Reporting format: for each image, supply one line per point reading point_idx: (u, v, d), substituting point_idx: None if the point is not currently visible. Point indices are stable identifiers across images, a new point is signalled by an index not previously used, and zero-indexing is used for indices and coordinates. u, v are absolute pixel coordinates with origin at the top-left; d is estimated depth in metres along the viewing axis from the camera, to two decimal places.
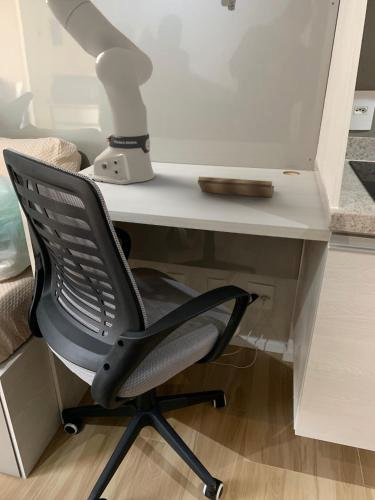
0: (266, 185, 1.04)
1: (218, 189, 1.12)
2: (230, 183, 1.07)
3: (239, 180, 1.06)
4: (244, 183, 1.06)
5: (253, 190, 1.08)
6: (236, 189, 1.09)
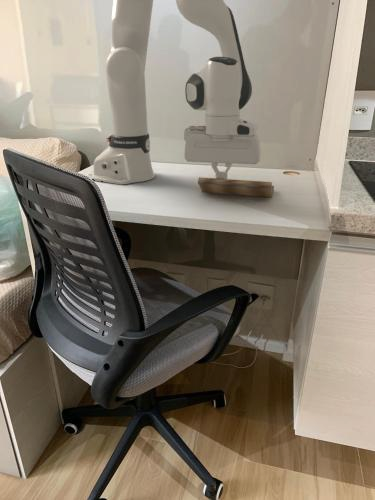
0: (266, 186, 1.04)
1: (217, 189, 1.12)
2: (230, 184, 1.07)
3: (239, 181, 1.06)
4: (244, 184, 1.06)
5: (253, 190, 1.08)
6: (236, 189, 1.09)
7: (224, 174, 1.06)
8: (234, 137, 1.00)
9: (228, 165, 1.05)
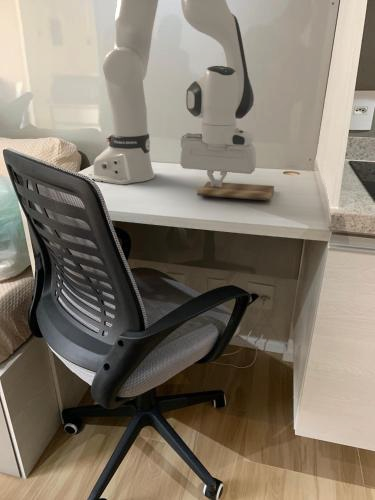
0: (265, 199, 1.05)
1: None
2: (229, 196, 1.07)
3: (238, 193, 1.06)
4: (243, 196, 1.06)
5: None
6: None
7: (219, 182, 1.07)
8: (229, 146, 1.00)
9: (223, 174, 1.05)
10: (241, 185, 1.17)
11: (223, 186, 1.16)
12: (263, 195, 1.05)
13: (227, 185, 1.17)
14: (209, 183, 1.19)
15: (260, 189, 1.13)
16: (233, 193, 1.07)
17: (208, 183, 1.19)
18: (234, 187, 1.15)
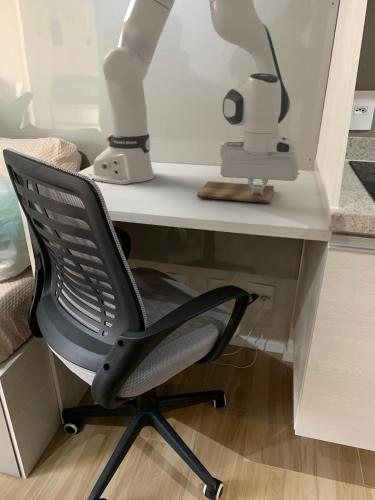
0: (264, 201, 1.05)
1: None
2: (229, 198, 1.08)
3: (237, 195, 1.07)
4: (243, 199, 1.07)
5: None
6: None
7: (260, 190, 1.06)
8: (273, 154, 0.99)
9: (265, 181, 1.04)
10: (241, 185, 1.17)
11: (223, 186, 1.16)
12: (263, 197, 1.05)
13: (227, 185, 1.17)
14: (209, 183, 1.19)
15: None
16: (233, 195, 1.07)
17: (208, 183, 1.19)
18: (234, 187, 1.15)
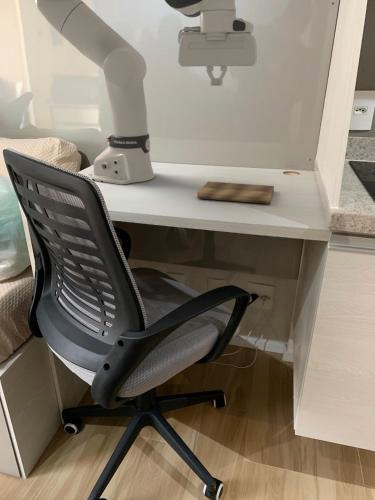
0: (264, 202, 1.05)
1: None
2: (229, 199, 1.08)
3: (237, 196, 1.07)
4: (243, 200, 1.07)
5: None
6: None
7: (219, 79, 1.03)
8: (229, 35, 0.96)
9: (223, 69, 1.01)
10: (241, 185, 1.17)
11: (223, 186, 1.16)
12: (263, 198, 1.05)
13: (227, 185, 1.17)
14: (209, 183, 1.19)
15: (260, 189, 1.13)
16: (233, 196, 1.07)
17: (208, 183, 1.19)
18: (234, 187, 1.15)
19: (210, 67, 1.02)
